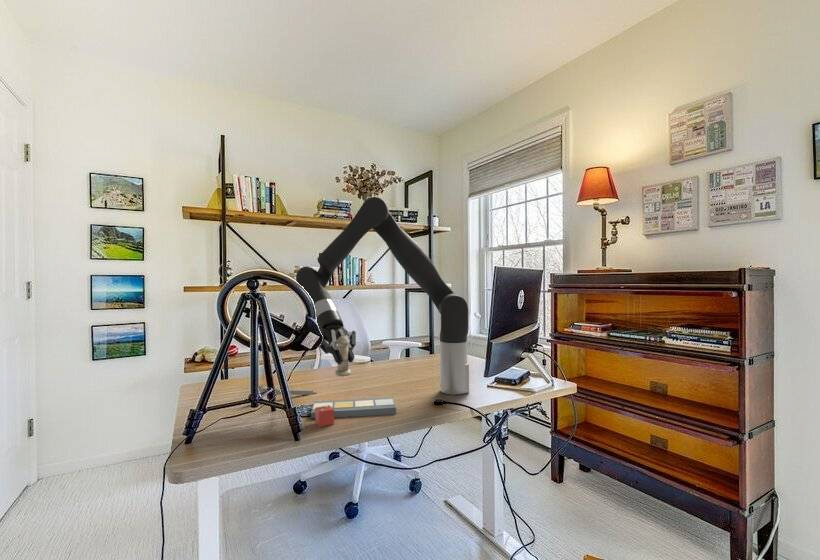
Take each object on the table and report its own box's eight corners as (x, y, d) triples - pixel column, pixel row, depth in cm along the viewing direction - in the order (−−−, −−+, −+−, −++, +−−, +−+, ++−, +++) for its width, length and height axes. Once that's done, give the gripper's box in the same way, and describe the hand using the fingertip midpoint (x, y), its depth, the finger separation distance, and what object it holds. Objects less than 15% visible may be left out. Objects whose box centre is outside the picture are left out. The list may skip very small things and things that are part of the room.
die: (329, 419, 112) (329, 404, 112) (334, 424, 108) (333, 409, 108) (315, 422, 110) (315, 407, 110) (319, 427, 106) (319, 411, 106)
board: (392, 403, 126) (392, 396, 126) (396, 413, 116) (396, 406, 116) (314, 407, 122) (314, 400, 122) (311, 419, 112) (310, 411, 112)
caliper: (254, 405, 126) (254, 385, 126) (253, 404, 127) (253, 385, 126) (316, 394, 137) (316, 375, 137) (315, 393, 138) (315, 375, 138)
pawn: (350, 372, 121) (350, 335, 121) (350, 376, 117) (350, 337, 116) (335, 373, 120) (335, 335, 120) (335, 376, 116) (334, 337, 116)
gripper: (309, 310, 120) (328, 357, 110) (350, 307, 128) (371, 351, 119) (302, 326, 124) (320, 373, 114) (342, 322, 133) (362, 365, 123)
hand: (346, 361), depth 117 cm, fingers closed on pawn, 3 cm apart
